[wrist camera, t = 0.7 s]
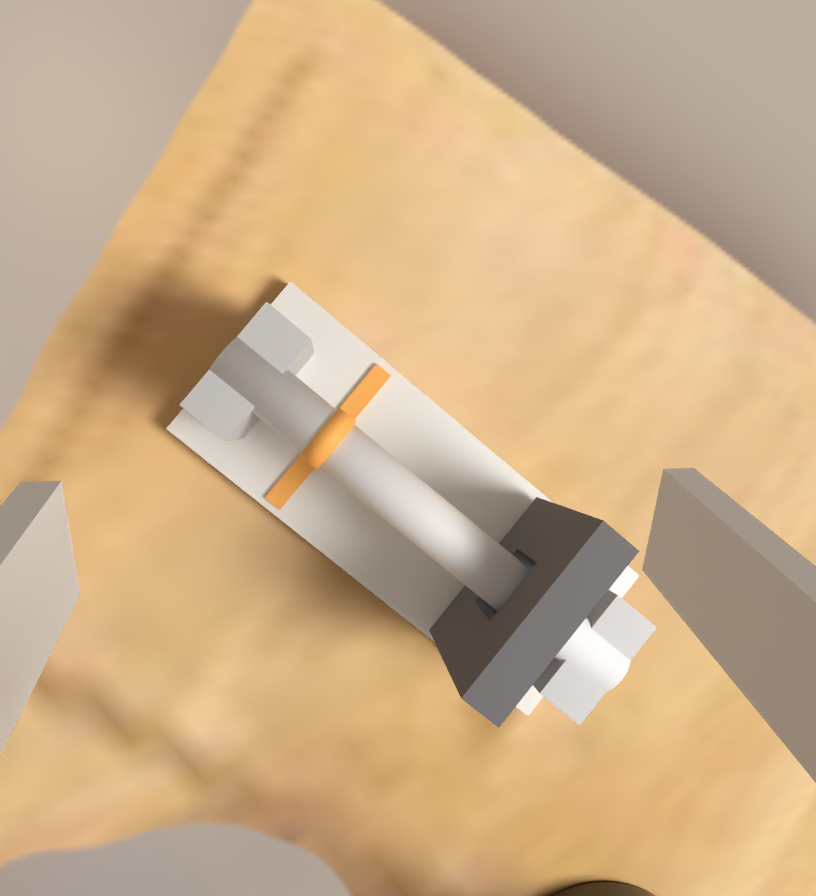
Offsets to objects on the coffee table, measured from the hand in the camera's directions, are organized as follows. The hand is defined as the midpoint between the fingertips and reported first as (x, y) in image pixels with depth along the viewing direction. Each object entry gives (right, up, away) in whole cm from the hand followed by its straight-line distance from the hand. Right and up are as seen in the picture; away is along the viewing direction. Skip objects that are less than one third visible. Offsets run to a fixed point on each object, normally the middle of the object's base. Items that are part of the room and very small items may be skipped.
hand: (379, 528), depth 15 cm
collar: (+6, -6, +29) cm, 31 cm away
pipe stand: (+1, -2, +30) cm, 30 cm away
